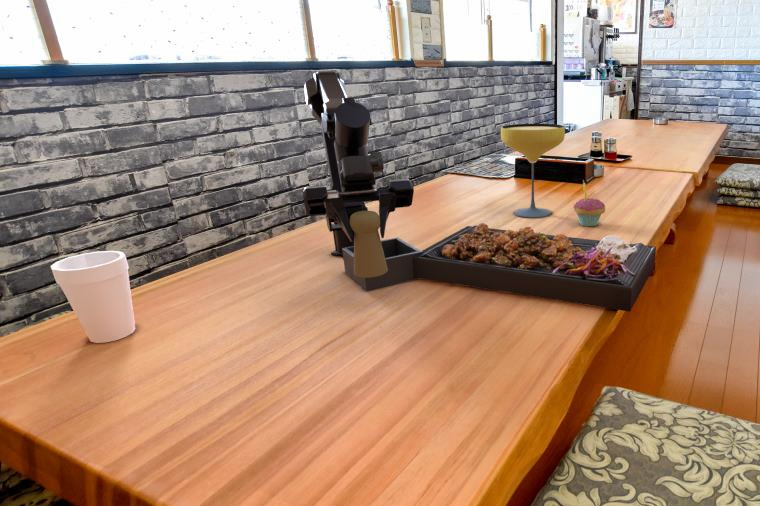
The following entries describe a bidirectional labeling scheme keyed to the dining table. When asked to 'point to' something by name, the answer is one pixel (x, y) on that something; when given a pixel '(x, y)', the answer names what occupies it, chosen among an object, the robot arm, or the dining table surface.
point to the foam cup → (98, 293)
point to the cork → (367, 245)
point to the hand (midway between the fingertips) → (367, 238)
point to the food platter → (541, 265)
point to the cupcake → (589, 210)
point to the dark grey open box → (396, 260)
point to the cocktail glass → (532, 151)
